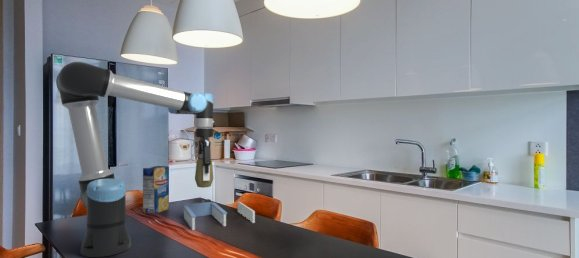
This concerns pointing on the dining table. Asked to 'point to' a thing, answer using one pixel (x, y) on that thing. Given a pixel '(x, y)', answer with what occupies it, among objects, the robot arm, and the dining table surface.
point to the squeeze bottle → (200, 173)
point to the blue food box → (155, 189)
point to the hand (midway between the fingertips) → (204, 179)
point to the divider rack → (213, 212)
